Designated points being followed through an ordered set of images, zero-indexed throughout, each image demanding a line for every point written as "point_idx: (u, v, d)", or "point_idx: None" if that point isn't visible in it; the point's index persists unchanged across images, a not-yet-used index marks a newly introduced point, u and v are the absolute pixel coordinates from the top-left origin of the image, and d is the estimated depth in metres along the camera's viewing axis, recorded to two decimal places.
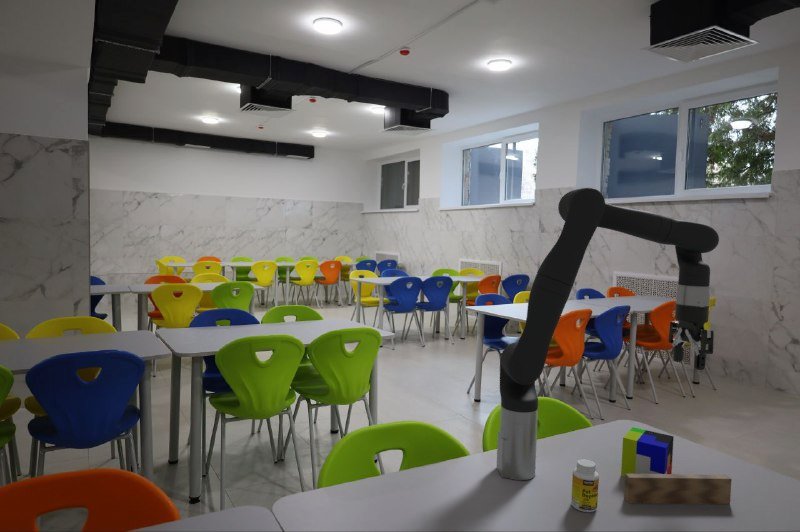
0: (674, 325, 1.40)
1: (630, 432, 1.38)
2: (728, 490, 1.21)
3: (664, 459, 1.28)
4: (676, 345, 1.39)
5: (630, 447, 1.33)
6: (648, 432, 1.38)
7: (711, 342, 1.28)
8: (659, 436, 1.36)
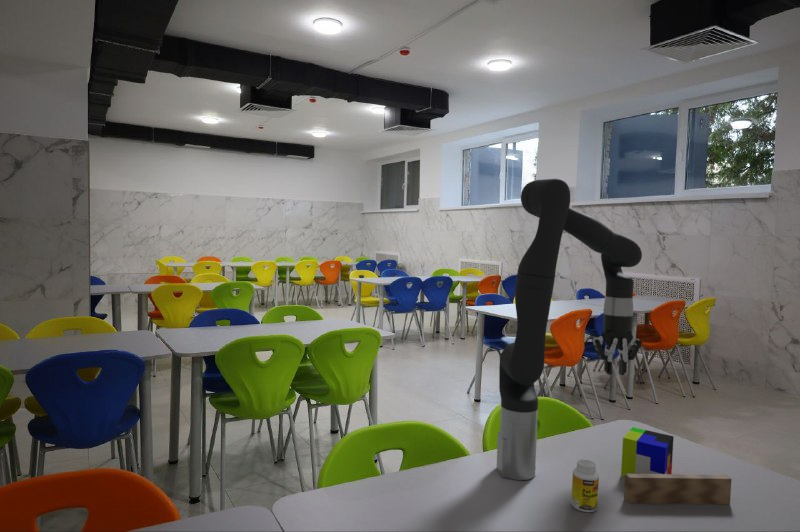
0: (599, 341, 1.45)
1: (630, 432, 1.38)
2: (728, 490, 1.21)
3: (664, 459, 1.28)
4: None
5: (630, 447, 1.33)
6: (648, 432, 1.38)
7: None
8: (659, 436, 1.36)
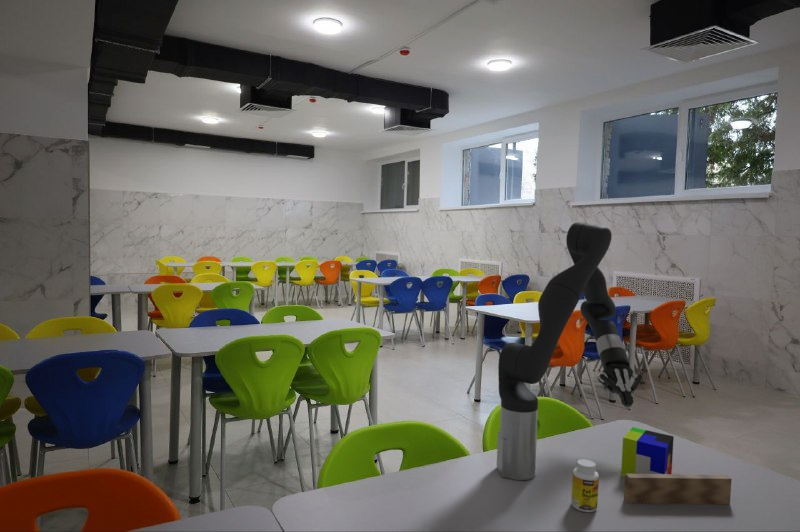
0: None
1: (630, 432, 1.38)
2: (728, 490, 1.21)
3: (664, 459, 1.28)
4: (624, 390, 1.49)
5: (630, 447, 1.33)
6: (648, 432, 1.38)
7: None
8: (659, 436, 1.36)
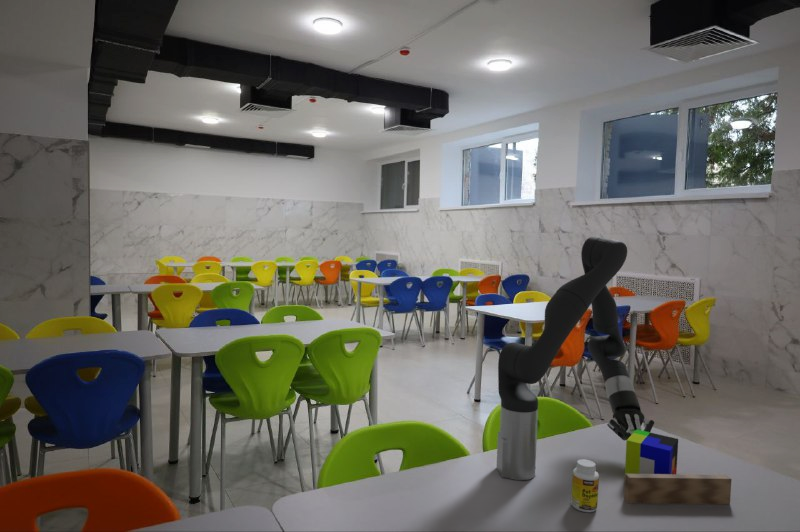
0: None
1: (634, 434, 1.36)
2: (728, 490, 1.21)
3: (668, 462, 1.26)
4: None
5: (633, 450, 1.31)
6: (652, 434, 1.36)
7: None
8: (664, 438, 1.34)
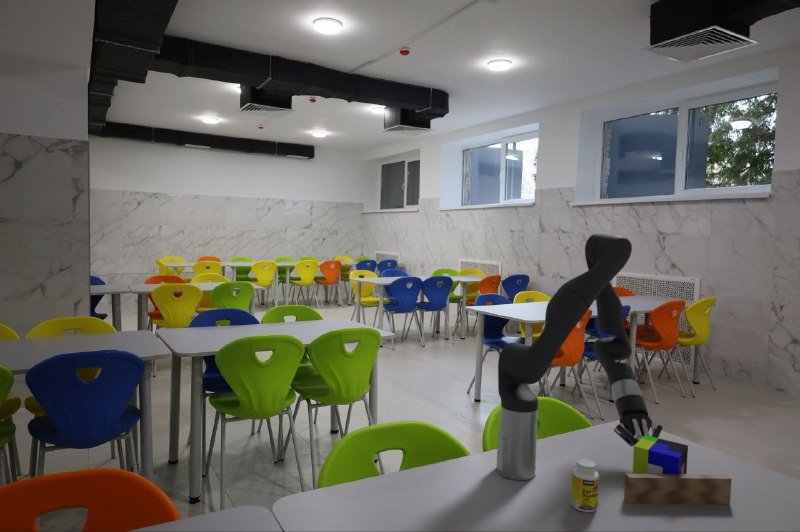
0: None
1: (642, 440, 1.32)
2: (728, 490, 1.21)
3: (677, 469, 1.23)
4: None
5: (641, 456, 1.27)
6: (661, 440, 1.32)
7: None
8: (673, 445, 1.30)
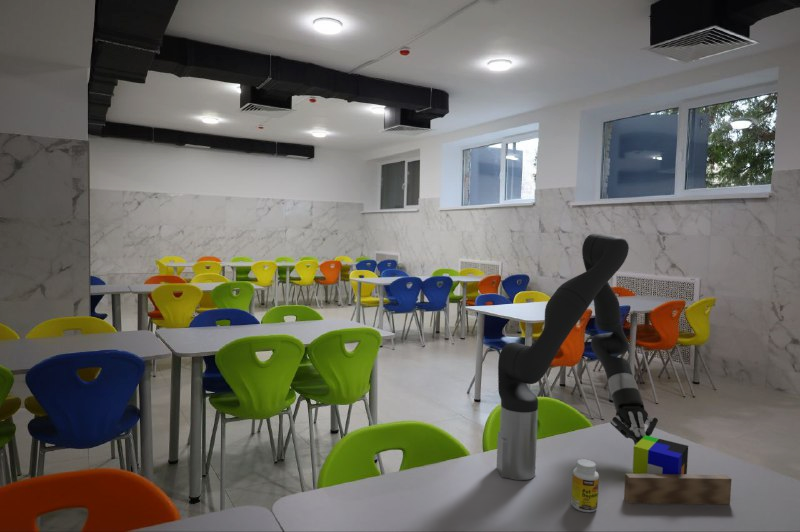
0: None
1: (642, 440, 1.32)
2: (728, 490, 1.21)
3: (677, 470, 1.23)
4: (639, 435, 1.40)
5: (641, 456, 1.28)
6: (661, 441, 1.32)
7: None
8: (673, 445, 1.30)
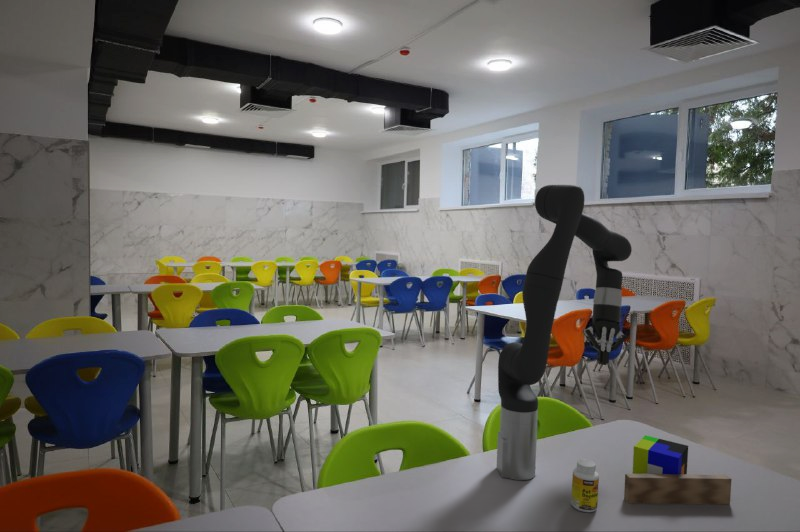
0: None
1: (642, 440, 1.32)
2: (728, 490, 1.21)
3: (677, 470, 1.23)
4: None
5: (641, 456, 1.28)
6: (661, 441, 1.32)
7: None
8: (673, 445, 1.30)
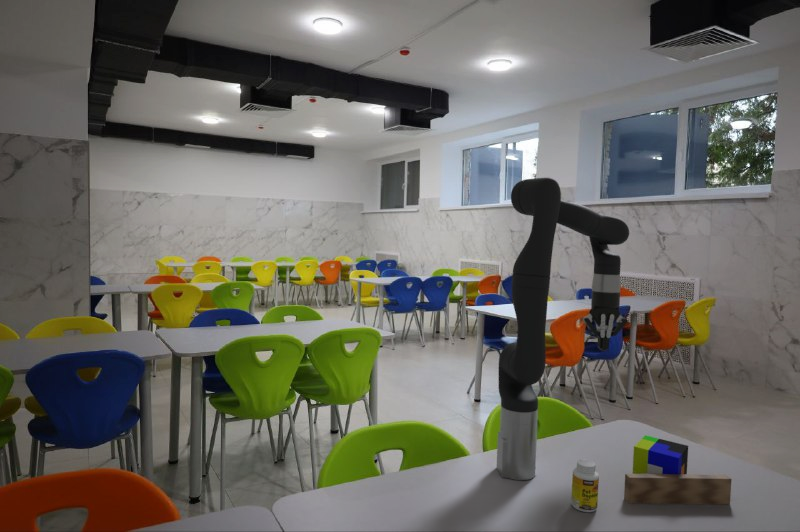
0: (588, 319, 1.49)
1: (642, 440, 1.32)
2: (728, 490, 1.21)
3: (677, 470, 1.23)
4: None
5: (641, 457, 1.28)
6: (661, 441, 1.32)
7: None
8: (673, 445, 1.30)
